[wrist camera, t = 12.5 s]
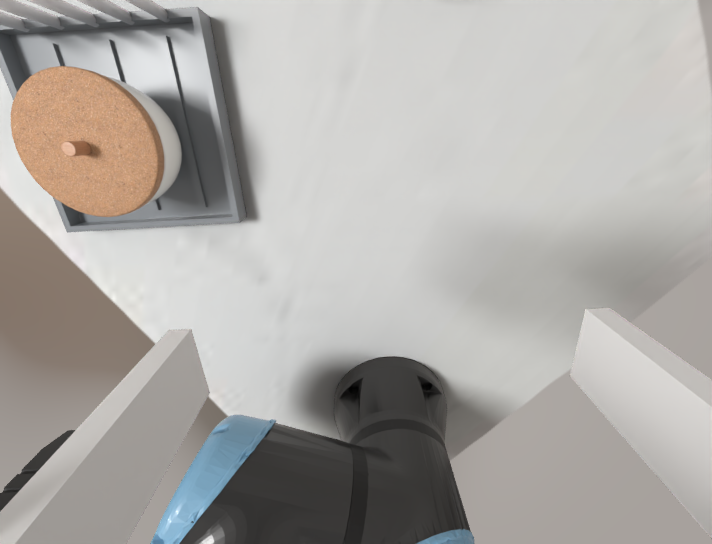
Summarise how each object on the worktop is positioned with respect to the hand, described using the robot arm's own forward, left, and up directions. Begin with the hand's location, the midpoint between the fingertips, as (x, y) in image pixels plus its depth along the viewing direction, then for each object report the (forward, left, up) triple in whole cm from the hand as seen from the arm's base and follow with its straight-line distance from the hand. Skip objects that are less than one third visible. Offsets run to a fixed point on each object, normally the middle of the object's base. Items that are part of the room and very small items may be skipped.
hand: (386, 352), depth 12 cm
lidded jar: (+7, +21, -26) cm, 34 cm away
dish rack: (+8, +22, -27) cm, 36 cm away
